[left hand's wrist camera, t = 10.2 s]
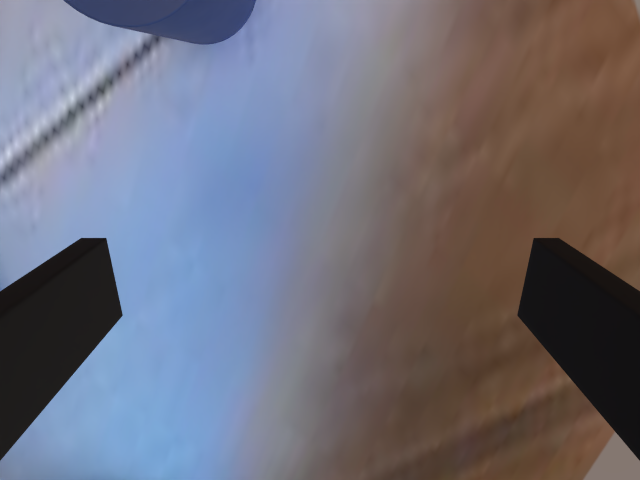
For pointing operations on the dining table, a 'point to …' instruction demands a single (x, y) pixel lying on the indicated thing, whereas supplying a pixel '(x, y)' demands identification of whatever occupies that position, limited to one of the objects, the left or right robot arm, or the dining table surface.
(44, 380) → the left robot arm
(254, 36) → the dining table surface
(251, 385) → the dining table surface
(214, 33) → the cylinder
